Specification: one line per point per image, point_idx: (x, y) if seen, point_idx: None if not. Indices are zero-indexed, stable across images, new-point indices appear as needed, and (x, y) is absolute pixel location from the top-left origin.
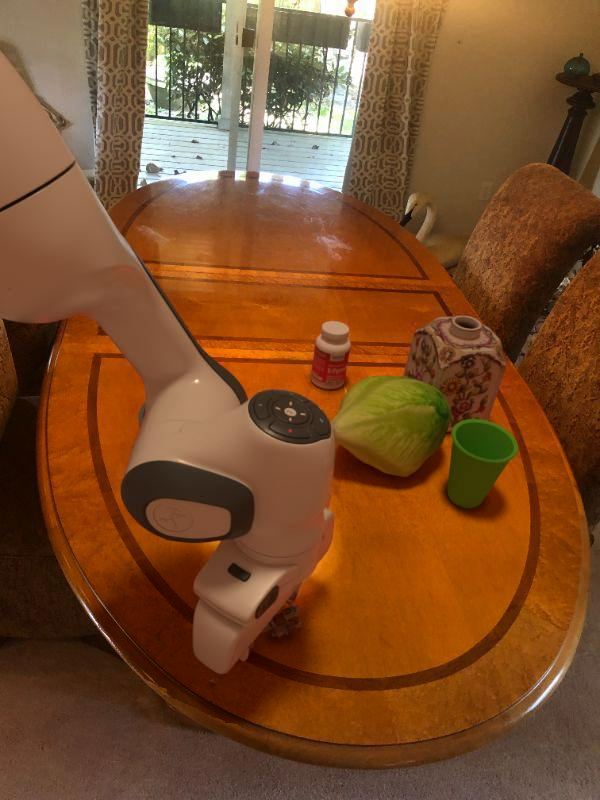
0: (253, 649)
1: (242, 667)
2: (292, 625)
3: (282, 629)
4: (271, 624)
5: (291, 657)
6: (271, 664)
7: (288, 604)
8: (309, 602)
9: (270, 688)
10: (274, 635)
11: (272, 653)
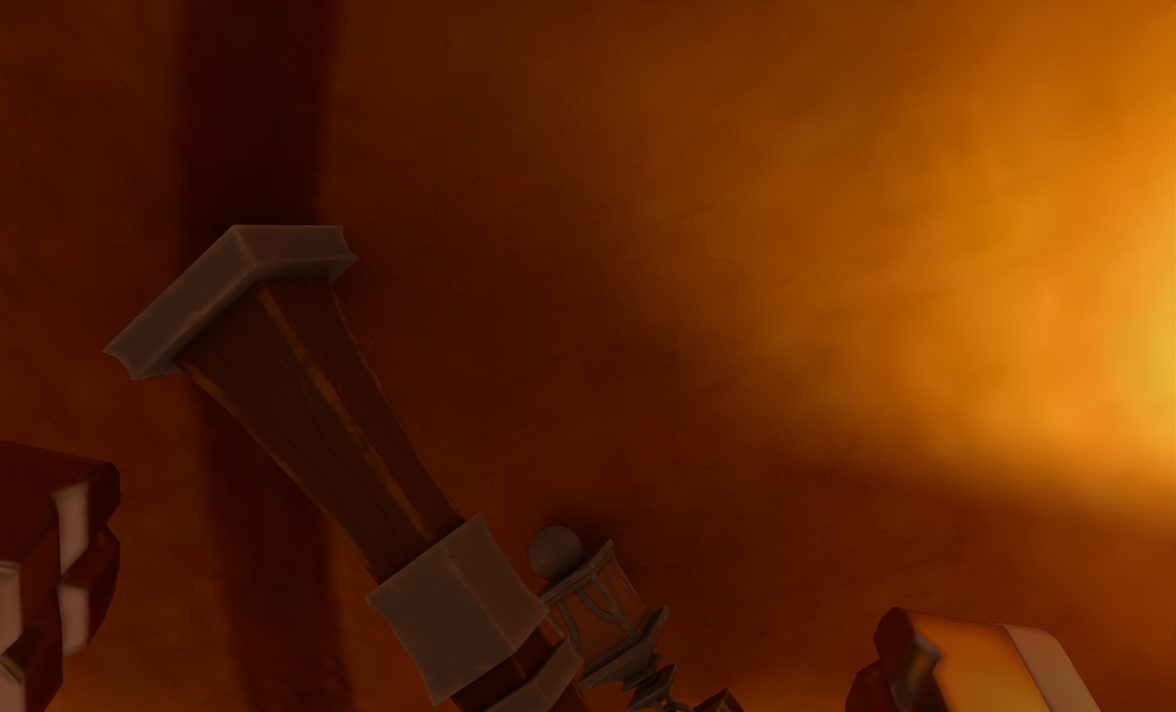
0: (84, 644)
1: (118, 413)
2: (673, 709)
3: (593, 651)
4: (469, 709)
5: (437, 706)
6: (293, 604)
7: (848, 700)
8: None
9: (108, 662)
10: (534, 569)
11: None
